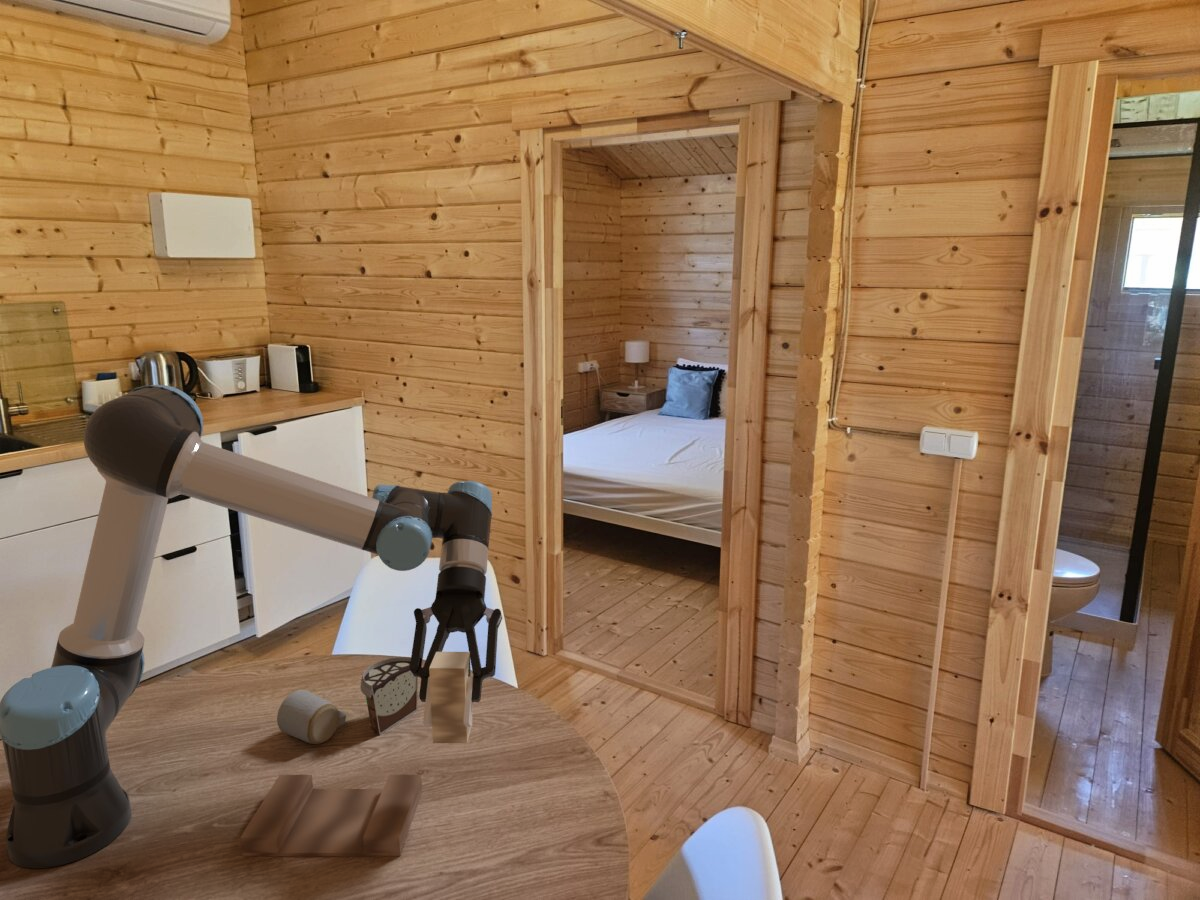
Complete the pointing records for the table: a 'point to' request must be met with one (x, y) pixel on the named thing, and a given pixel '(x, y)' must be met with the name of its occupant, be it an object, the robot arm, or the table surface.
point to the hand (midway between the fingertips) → (447, 724)
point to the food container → (389, 692)
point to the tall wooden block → (449, 696)
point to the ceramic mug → (309, 717)
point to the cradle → (332, 819)
